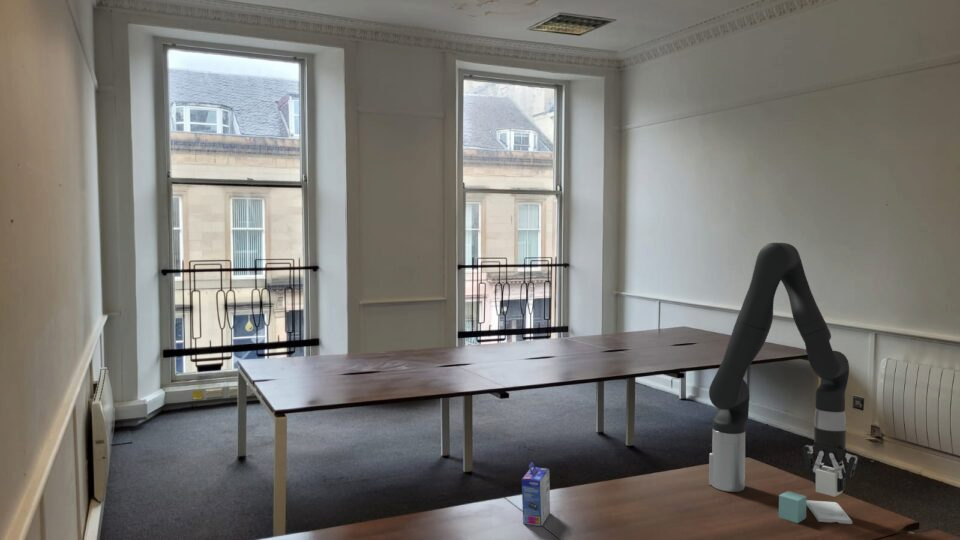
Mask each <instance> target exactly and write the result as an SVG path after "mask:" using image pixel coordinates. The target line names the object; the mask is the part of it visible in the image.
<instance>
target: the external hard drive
mask: <svg viewBox="0 0 960 540" xmlns="http://www.w3.org/2000/svg"><path fill="white" fill-rule="evenodd" d="M806 507H807V508H808V509H809V510H810V511H811V513H812V514H813V516H814V517H815V519H816V520H817V522H819V523H820V522H822V523H836V522H838V523H837V524H845V525H846V524H847V525H848V524H849V525H852V524H853V520H852V519H851V518H850V517H849V515H848V514H847V513H846V512H845V510H844V509H843V507H841V506H840V504H839V503H838V502H835V501H824V500H823V501H821V500H811V499H810V500H808V499H806Z"/></svg>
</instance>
